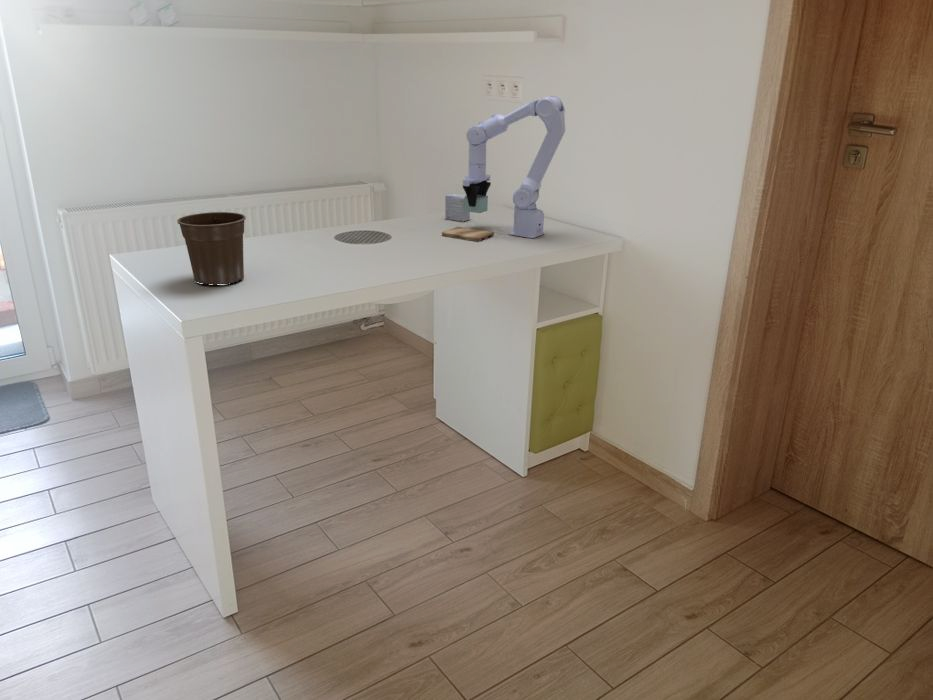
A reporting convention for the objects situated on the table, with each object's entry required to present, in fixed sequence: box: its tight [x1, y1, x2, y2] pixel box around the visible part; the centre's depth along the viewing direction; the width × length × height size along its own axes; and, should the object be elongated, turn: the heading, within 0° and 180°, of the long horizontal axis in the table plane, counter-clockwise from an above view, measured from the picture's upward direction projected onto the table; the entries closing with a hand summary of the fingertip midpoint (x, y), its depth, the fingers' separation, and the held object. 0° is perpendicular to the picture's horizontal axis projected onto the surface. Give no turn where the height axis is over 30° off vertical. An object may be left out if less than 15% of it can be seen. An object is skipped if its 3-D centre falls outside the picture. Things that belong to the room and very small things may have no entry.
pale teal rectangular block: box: [465, 195, 489, 214], centre depth 239 cm, size 6×5×5 cm
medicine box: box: [444, 193, 471, 223], centre depth 254 cm, size 8×4×9 cm, turn 58°
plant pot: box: [177, 211, 246, 285], centre depth 180 cm, size 16×16×16 cm
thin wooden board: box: [441, 226, 495, 242], centre depth 233 cm, size 14×10×1 cm
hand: (476, 205), depth 239 cm, fingers closed on pale teal rectangular block, 5 cm apart
